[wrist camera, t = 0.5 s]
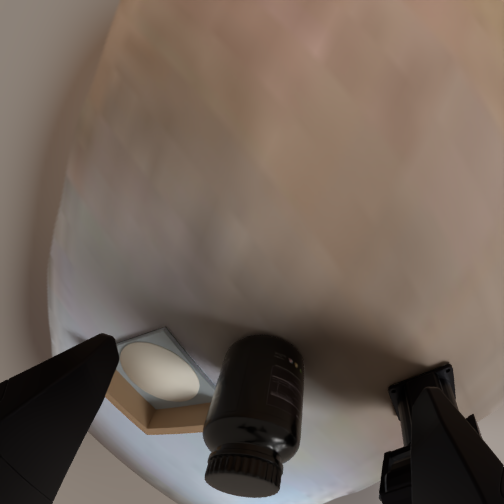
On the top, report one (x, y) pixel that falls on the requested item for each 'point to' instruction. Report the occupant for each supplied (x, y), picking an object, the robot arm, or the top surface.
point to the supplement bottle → (254, 416)
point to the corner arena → (160, 385)
